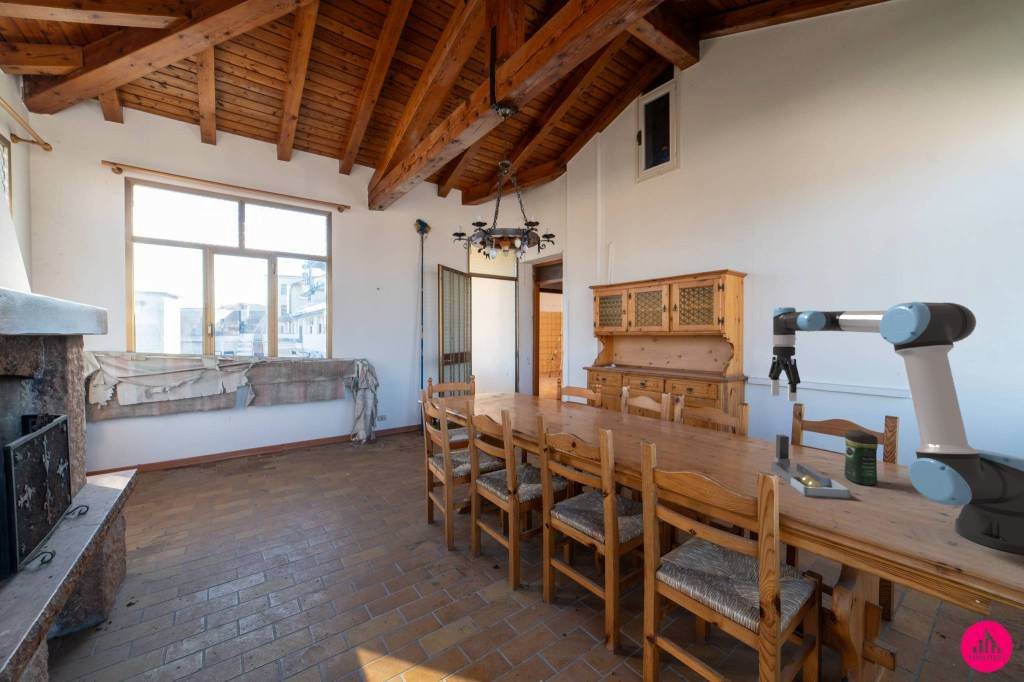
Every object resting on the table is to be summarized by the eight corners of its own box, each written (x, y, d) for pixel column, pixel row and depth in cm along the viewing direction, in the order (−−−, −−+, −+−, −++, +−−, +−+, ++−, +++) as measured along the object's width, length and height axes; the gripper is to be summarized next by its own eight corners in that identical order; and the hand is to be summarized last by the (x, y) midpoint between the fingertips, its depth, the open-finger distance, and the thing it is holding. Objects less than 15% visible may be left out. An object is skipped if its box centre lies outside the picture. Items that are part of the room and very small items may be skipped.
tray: (849, 498, 134) (850, 489, 134) (804, 496, 136) (804, 487, 136) (832, 488, 142) (832, 479, 142) (790, 486, 145) (790, 477, 145)
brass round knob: (814, 482, 142) (818, 486, 140) (803, 488, 143) (807, 491, 140) (807, 473, 143) (811, 476, 140) (796, 478, 144) (800, 481, 141)
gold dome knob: (808, 476, 139) (815, 480, 136) (817, 483, 139) (825, 486, 136) (802, 486, 139) (809, 490, 136) (811, 492, 139) (818, 496, 136)
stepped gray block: (790, 469, 162) (790, 437, 162) (778, 468, 163) (778, 436, 163) (785, 466, 165) (786, 434, 165) (774, 465, 166) (774, 434, 166)
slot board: (830, 488, 143) (830, 478, 142) (793, 486, 145) (793, 476, 144) (805, 472, 158) (805, 463, 158) (771, 470, 160) (771, 462, 160)
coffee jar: (881, 487, 144) (883, 435, 143) (856, 485, 145) (857, 434, 145) (864, 477, 153) (865, 428, 152) (840, 475, 155) (841, 427, 154)
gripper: (812, 347, 150) (811, 403, 150) (778, 344, 175) (778, 393, 175) (789, 347, 151) (789, 403, 152) (760, 344, 176) (759, 393, 176)
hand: (783, 398), depth 163 cm, fingers open, 13 cm apart
